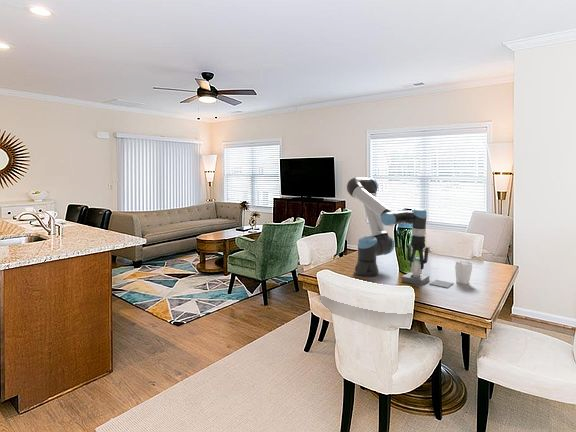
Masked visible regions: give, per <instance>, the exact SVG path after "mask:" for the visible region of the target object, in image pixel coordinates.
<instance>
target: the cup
mask: <svg viewBox="0 0 576 432" xmlns="http://www.w3.org/2000/svg"><path fill="white" fill-rule="evenodd" d="M454 267H455V268H454V269H455V280H456V283H458V284H461V285H469V283H470V280H471V275H472V271H473V262H469V261H465V260H458V261H455V266H454Z"/></svg>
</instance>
